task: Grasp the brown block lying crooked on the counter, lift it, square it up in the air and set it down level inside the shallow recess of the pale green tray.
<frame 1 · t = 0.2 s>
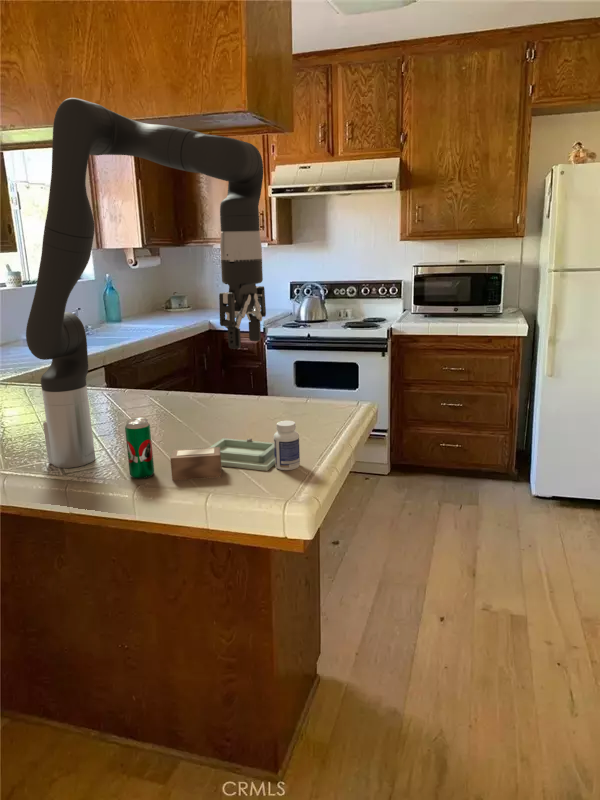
hand: (245, 344, 117), 28 cm above the table, fingers open, 8 cm apart
pale green tray: (241, 458, 138), on the table
pill bottle: (287, 467, 133), on the table
brown block: (197, 475, 130), on the table
soda can: (142, 476, 130), on the table
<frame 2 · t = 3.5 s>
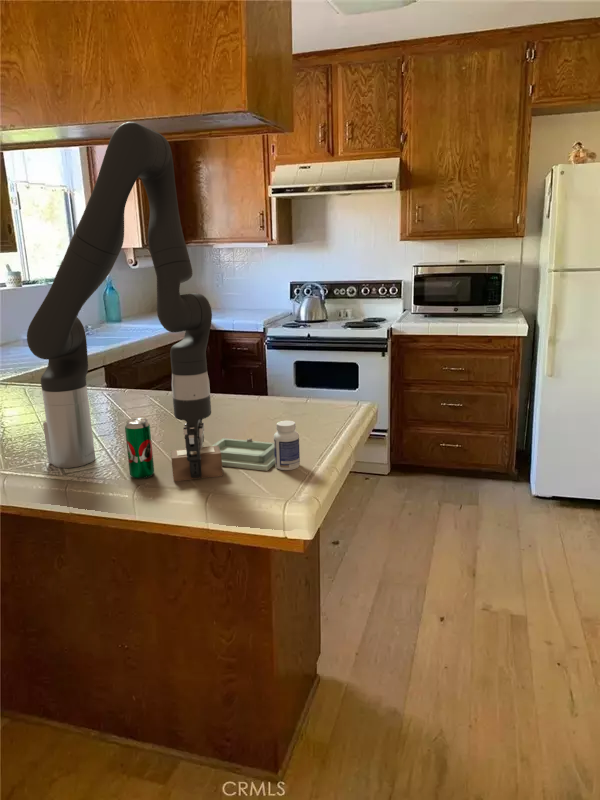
hand: (197, 471, 129), 1 cm above the table, fingers closed on brown block, 5 cm apart
brown block: (197, 474, 130), on the table, touching gripper
everything else where it was.
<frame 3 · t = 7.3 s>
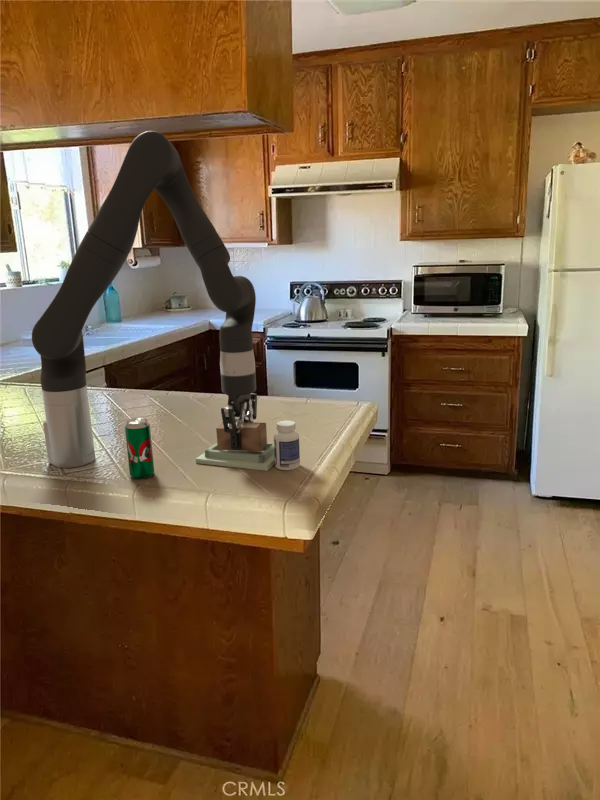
hand: (242, 444, 138), 3 cm above the table, fingers closed on brown block, 5 cm apart
brown block: (242, 446, 138), point 2 cm above the table, touching gripper
everything else where it was.
when the fingers open (3 cm above the table, at t = 8.0 s): brown block drops 1 cm, resting on pale green tray.
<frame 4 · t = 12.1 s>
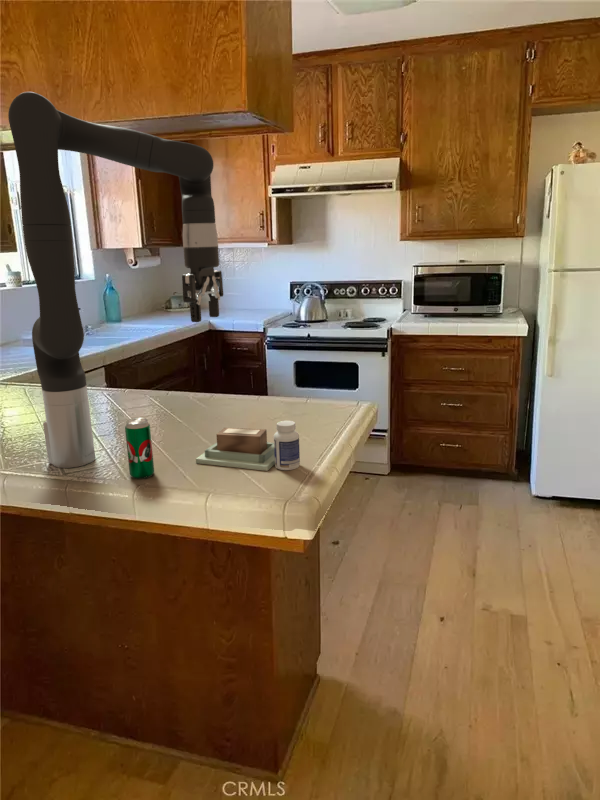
hand: (205, 319, 139), 30 cm above the table, fingers open, 8 cm apart
brown block: (242, 453, 138), point 1 cm above the table, touching pale green tray
everything else where it was.
at the end: brown block 0.1 cm off-centre on the pale green tray, point 1.0 cm above the pale green tray's base; brown block tilted 0°; the gripper is holding nothing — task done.
